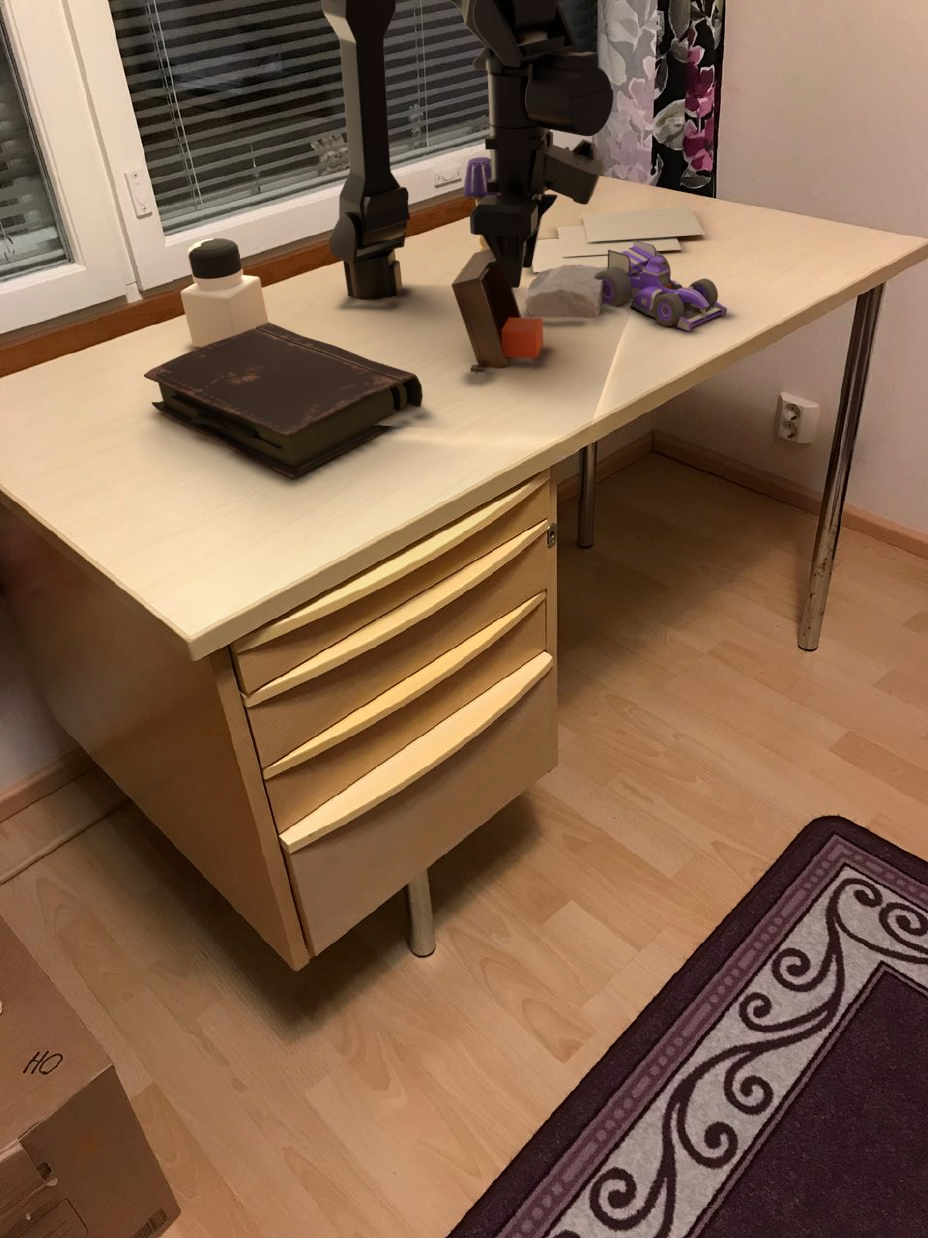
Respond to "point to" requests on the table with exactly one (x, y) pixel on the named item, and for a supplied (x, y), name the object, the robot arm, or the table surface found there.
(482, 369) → the hinge brackets
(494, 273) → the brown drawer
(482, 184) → the toy lamp
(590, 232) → the paper stack
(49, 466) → the table surface
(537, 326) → the cube
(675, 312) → the toy race car
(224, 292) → the medicine bottle
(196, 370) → the diary
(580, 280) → the stone block
